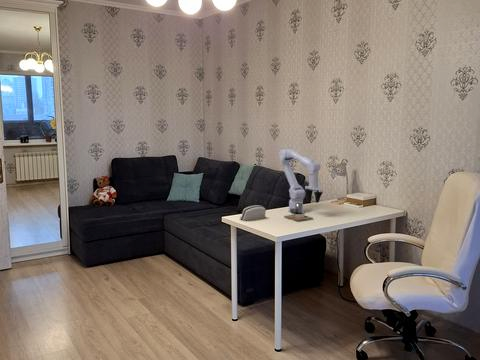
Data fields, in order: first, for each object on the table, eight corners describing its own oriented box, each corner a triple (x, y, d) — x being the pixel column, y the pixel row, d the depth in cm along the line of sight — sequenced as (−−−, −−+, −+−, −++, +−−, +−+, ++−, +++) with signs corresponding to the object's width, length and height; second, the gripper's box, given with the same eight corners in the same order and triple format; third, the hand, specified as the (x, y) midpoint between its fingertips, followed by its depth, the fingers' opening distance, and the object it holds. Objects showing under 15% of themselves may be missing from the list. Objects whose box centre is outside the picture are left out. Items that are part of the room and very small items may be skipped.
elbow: (298, 215, 273) (298, 202, 272) (303, 217, 270) (303, 203, 269) (289, 217, 269) (289, 204, 268) (293, 218, 266) (293, 205, 264)
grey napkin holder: (260, 216, 278) (263, 203, 274) (264, 220, 275) (267, 206, 270) (239, 219, 270) (241, 205, 265) (242, 223, 266) (245, 209, 262)
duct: (284, 217, 273) (284, 212, 273) (299, 215, 279) (299, 210, 279) (297, 221, 262) (297, 216, 261) (313, 219, 268) (313, 213, 267)
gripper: (301, 180, 279) (301, 200, 281) (316, 182, 266) (316, 204, 268) (310, 179, 282) (309, 199, 284) (324, 181, 270) (324, 202, 272)
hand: (313, 201), depth 277 cm, fingers open, 7 cm apart
